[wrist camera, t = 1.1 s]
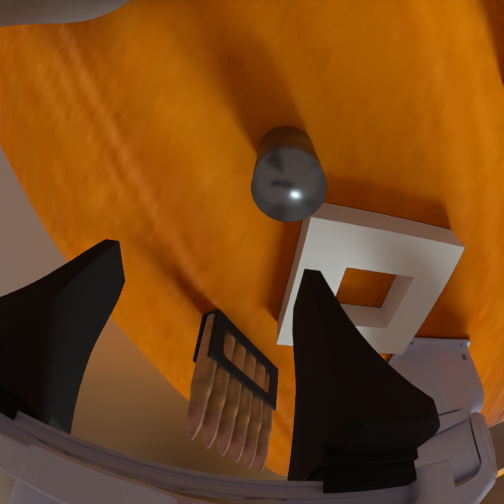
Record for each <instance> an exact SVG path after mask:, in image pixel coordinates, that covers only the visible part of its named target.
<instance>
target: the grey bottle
mask: <svg viewBox="0 0 504 504" xmlns="http://www.w3.org/2000/svg"><path fill="white" fill-rule="evenodd" d="M130 1H131V0H0V26H10V25H22V24H43V23H73V22H81V21H86V20H90V19H94V18H97V17H100V16H103V15H105V14H107V13H110V12H112V11H114V10H116V9H118V8H119V7H121V6H123V5H125V4H126V3H128V2H130Z"/></svg>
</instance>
